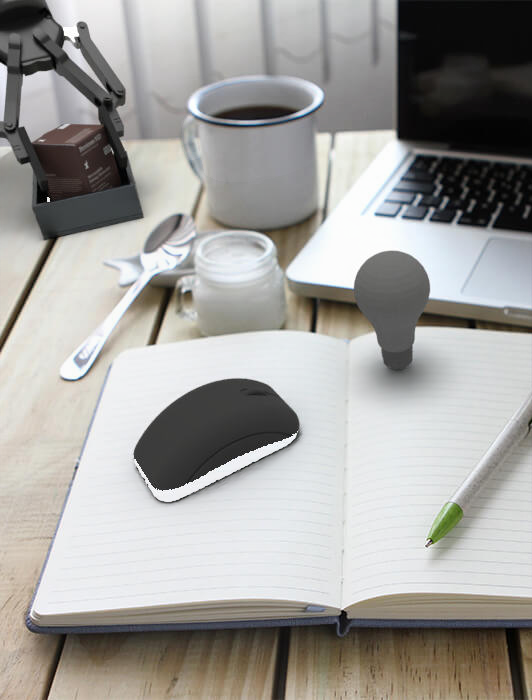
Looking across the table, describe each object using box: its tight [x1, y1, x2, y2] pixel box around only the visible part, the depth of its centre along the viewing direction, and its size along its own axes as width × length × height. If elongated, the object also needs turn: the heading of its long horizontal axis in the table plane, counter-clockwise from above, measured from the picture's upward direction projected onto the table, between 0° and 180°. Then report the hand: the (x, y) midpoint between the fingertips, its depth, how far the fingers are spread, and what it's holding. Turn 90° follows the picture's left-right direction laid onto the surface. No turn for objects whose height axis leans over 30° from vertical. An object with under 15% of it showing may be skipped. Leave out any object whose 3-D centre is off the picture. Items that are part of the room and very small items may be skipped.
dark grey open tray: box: [31, 150, 144, 241], centre depth 90 cm, size 11×11×4 cm
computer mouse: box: [132, 377, 300, 491], centre depth 55 cm, size 6×11×4 cm, turn 123°
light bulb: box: [353, 250, 431, 370], centre depth 59 cm, size 6×6×10 cm
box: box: [31, 123, 122, 201], centre depth 88 cm, size 6×6×7 cm
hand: (85, 174), depth 86 cm, fingers closed on box, 8 cm apart
